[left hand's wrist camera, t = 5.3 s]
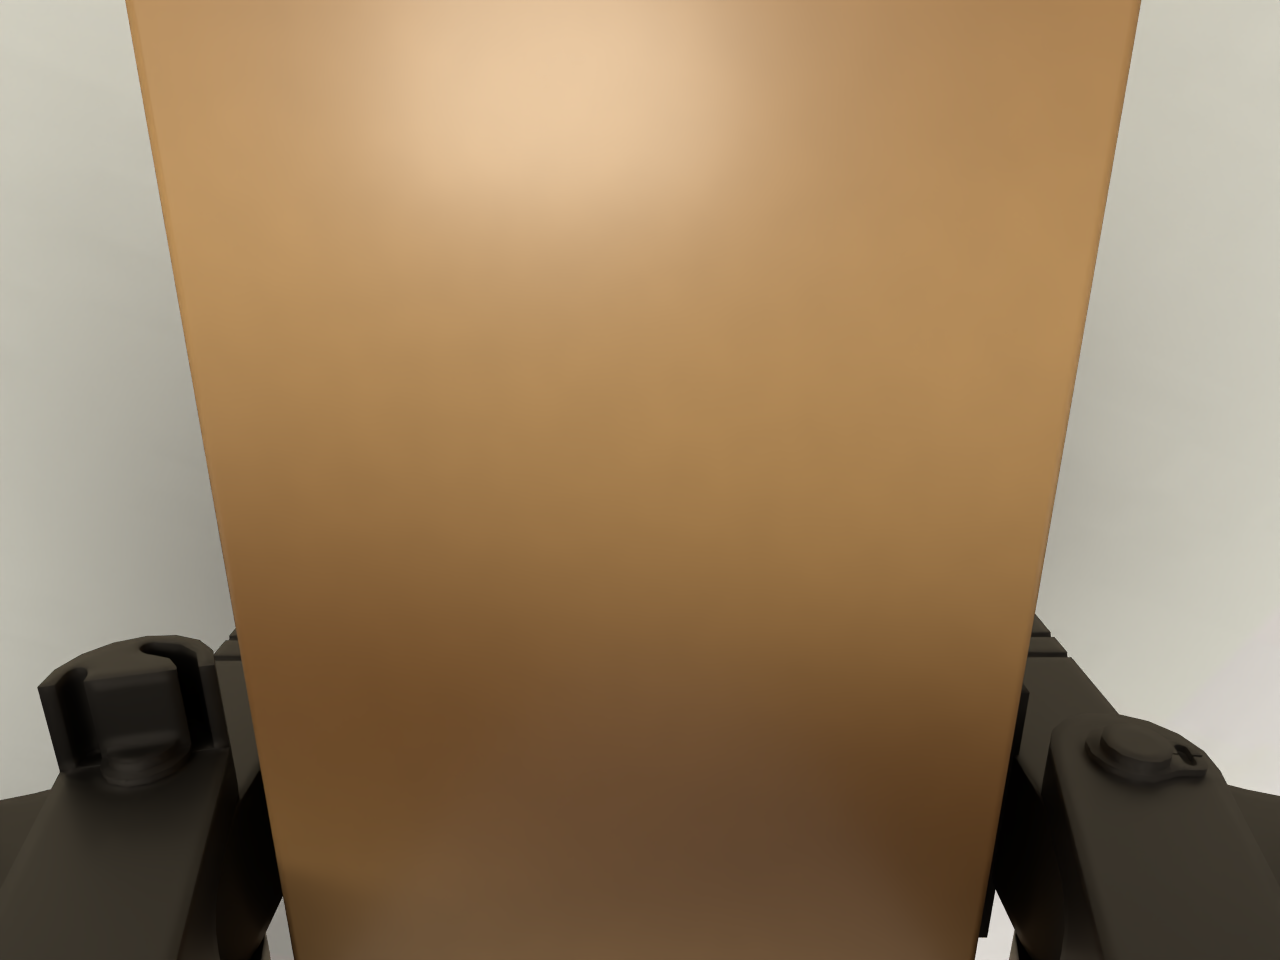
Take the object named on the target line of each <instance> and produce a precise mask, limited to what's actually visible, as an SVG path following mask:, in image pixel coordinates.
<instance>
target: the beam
mask: <svg viewBox="0 0 1280 960" xmlns="http://www.w3.org/2000/svg"><path fill="white" fill-rule="evenodd" d="M125 1H126V7H127V13H128V18H129V24H130V30H131V35H132V41H133V47H134V52H135V58H136V64H137V70H138V75H139V81H140V87H141V92H142V98H143V104H144V109H145V115H146V121H147V126H148V132H149V138H150V143H151V149H152V155H153V160H154V166H155V172H156V177H157V183H158V189H159V194H160V200H161V206H162V211H163V217H164V223H165V228H166V234H167V240H168V246H169V251H170V257H171V263H172V268H173V274H174V280H175V285H176V291H177V297H178V302H179V308H180V314H181V319H182V325H183V331H184V336H185V342H186V348H187V353H188V359H189V365H190V370H191V376H192V382H193V387H194V393H195V399H196V405H197V410H198V416H199V422H200V427H201V433H202V439H203V444H204V450H205V456H206V461H207V467H208V473H209V478H210V484H211V490H212V495H213V501H214V507H215V512H216V518H217V524H218V529H219V535H220V541H221V546H222V552H223V558H224V563H225V569H226V575H227V581H228V586H229V592H230V598H231V603H232V609H233V615H234V620H235V626H236V632H237V637H238V643H239V649H240V654H241V660H242V666H243V671H244V677H245V683H246V688H247V694H248V700H249V705H250V711H251V717H252V722H253V728H254V734H255V739H256V745H257V751H258V757H259V762H260V768H261V774H262V779H263V785H264V791H265V796H266V802H267V808H268V813H269V819H270V825H271V830H272V836H273V842H274V847H275V853H276V859H277V864H278V870H279V876H280V881H281V887H282V893H283V898H284V904H285V910H286V916H287V921H288V927H289V933H290V938H291V944H292V950H293V955H294V960H975V954H976V949H977V943H978V937H979V931H980V926H981V920H982V914H983V908H984V903H985V897H986V891H987V885H988V880H989V874H990V868H991V862H992V857H993V851H994V845H995V839H996V833H997V828H998V822H999V816H1000V810H1001V805H1002V799H1003V793H1004V787H1005V782H1006V776H1007V770H1008V764H1009V759H1010V753H1011V747H1012V741H1013V736H1014V730H1015V724H1016V718H1017V713H1018V707H1019V701H1020V695H1021V690H1022V684H1023V678H1024V672H1025V667H1026V661H1027V655H1028V649H1029V644H1030V638H1031V632H1032V626H1033V620H1034V615H1035V609H1036V603H1037V597H1038V592H1039V586H1040V580H1041V574H1042V569H1043V563H1044V557H1045V551H1046V546H1047V540H1048V534H1049V528H1050V523H1051V517H1052V511H1053V505H1054V500H1055V494H1056V488H1057V482H1058V477H1059V471H1060V465H1061V459H1062V453H1063V448H1064V442H1065V436H1066V430H1067V425H1068V419H1069V413H1070V407H1071V402H1072V396H1073V390H1074V384H1075V379H1076V373H1077V367H1078V361H1079V356H1080V350H1081V344H1082V338H1083V333H1084V327H1085V321H1086V315H1087V310H1088V304H1089V298H1090V292H1091V287H1092V281H1093V275H1094V269H1095V263H1096V258H1097V252H1098V246H1099V240H1100V235H1101V229H1102V223H1103V217H1104V212H1105V206H1106V200H1107V194H1108V189H1109V183H1110V177H1111V171H1112V166H1113V160H1114V154H1115V148H1116V143H1117V137H1118V131H1119V125H1120V120H1121V114H1122V108H1123V102H1124V97H1125V91H1126V85H1127V79H1128V73H1129V68H1130V62H1131V56H1132V50H1133V45H1134V39H1135V33H1136V27H1137V22H1138V16H1139V10H1140V4H1141V0H125Z"/></svg>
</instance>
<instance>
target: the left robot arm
mask: <svg viewBox="0 0 1280 960" xmlns="http://www.w3.org/2000/svg"><path fill="white" fill-rule="evenodd" d="M1050 634H1051V632H1050V631H1049V630H1048V629H1047V628H1046V626H1045V625H1044V624H1043V623H1042V622H1041V620H1040V619H1039V618H1038V617H1037V616H1036V614H1035V615H1034V620H1033V626H1032V632H1031V638H1030V644H1029V649H1028V655H1027V661H1026V667H1025V672H1024V678H1023V684H1022V690H1021V695H1020V701H1019V707H1018V713H1017V718H1016V724H1015V730H1014V736H1013V741H1012V747H1011V753H1010V759H1009V764H1008V770H1007V776H1006V782H1005V787H1004V793H1003V799H1002V805H1001V810H1000V816H999V822H998V828H997V833H996V839H995V845H994V851H993V857H992V862H991V868H990V874H989V880H988V885H987V891H986V897H985V903H984V908H983V914H982V920H981V926H980V931H979V937H987V935H988V929H989V923H990V918H991V912H992V906H993V901H994V895H995V889H996V891H997V893H998V895H999V898H1000V900H1001V902H1002V904H1003V906H1004V908H1005V910H1006V912H1007V914H1008V916H1009V919H1010V921H1011V923H1012V925H1013V927H1014V929H1015V931H1014V936H1013V941H1012V947H1011V952H1010V957H1009V960H1280V796H1277V795H1272V794H1267V793H1262V792H1256V791H1251V790H1246V789H1242V788H1239V787H1235V786H1231V785H1227V783H1226V781H1225V779H1224V777H1223V775H1222V773H1221V771H1220V770H1219V769H1218V768H1217V766H1216V765H1215V764H1214V763H1213V761H1212V760H1211V759H1210V758H1209V757H1208V755H1207V754H1206V753H1205V752H1204V751H1203V750H1201V749H1200V748H1198V747H1197V746H1196V745H1194V744H1193V743H1191V742H1190V741H1188V740H1187V739H1185V738H1184V737H1182V736H1181V735H1179V734H1177V733H1175V732H1173V731H1170V730H1168V729H1165V728H1163V727H1161V726H1158V725H1156V724H1154V723H1151V722H1149V721H1145V720H1141V719H1137V718H1132V717H1128V716H1124V715H1119V714H1118V713H1117V711H1116V710H1115V709H1114V708H1113V707H1112V705H1111V704H1110V703H1109V702H1108V701H1107V699H1106V698H1105V697H1104V696H1103V695H1102V693H1101V692H1100V691H1099V690H1098V689H1097V687H1096V686H1095V685H1094V684H1093V683H1092V681H1091V680H1090V679H1089V678H1088V677H1087V675H1086V674H1085V673H1084V672H1083V671H1082V670H1081V668H1080V667H1079V666H1078V665H1077V664H1076V662H1075V661H1074V660H1073V659H1072V658H1071V657H1067V652H1066V650H1065V649H1064V648H1063V647H1062V646H1061V644H1060V643H1059V642H1058V641H1057V640H1056V638H1055V637H1051V635H1050ZM37 688H38V692H39V695H40V699H41V703H42V706H43V710H44V714H45V718H46V721H47V725H48V729H49V732H50V736H51V740H52V744H53V747H54V751H55V755H56V758H57V762H58V766H59V770H60V773H59V775H58V777H57V779H56V781H55V783H54V785H53V787H52V789H50V790H46V791H42V792H38V793H35V794H30V795H25V796H20V797H14V798H9V799H4V800H0V960H271V959H270V952H269V947H268V941H267V936H266V931H267V929H268V926H269V924H270V922H271V920H272V918H273V916H274V914H275V912H276V910H277V907H278V905H279V903H280V901H281V899H282V897H283V893H282V887H281V881H280V876H279V870H278V864H277V859H276V853H275V847H274V842H273V836H272V830H271V825H270V819H269V813H268V808H267V802H266V796H265V791H264V785H263V779H262V774H261V768H260V762H259V757H258V751H257V745H256V739H255V734H254V728H253V722H252V717H251V711H250V705H249V700H248V694H247V688H246V683H245V677H244V671H243V666H242V660H241V654H240V649H239V643H238V637H237V632H236V628H235V630H234V631H233V632H232V633H231V634H230V638H229V640H226V641H225V642H224V643H223V644H222V645H221V647H220V648H219V649H218V650H217V651H216V653H215V654H214V653H213V650H212V649H211V648H209V647H208V646H207V645H205V644H204V643H203V642H201V641H200V640H197V639H192V638H187V637H182V636H178V635H168V636H145V637H140V638H135V639H130V640H125V641H120V642H115V643H112V644H109V645H106V646H103V647H100V648H98V649H95V650H92V651H89V652H87V653H84V654H81V655H80V656H78V657H76V658H74V659H73V660H71V661H69V662H67V663H66V664H64V665H62V666H60V667H59V668H57V669H55V670H54V671H53V672H52V673H51V674H50V675H49V676H48V677H47V678H46V679H45V680H44V681H43V682H42V683H41V684H40V685H39V686H38V687H37Z"/></svg>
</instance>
